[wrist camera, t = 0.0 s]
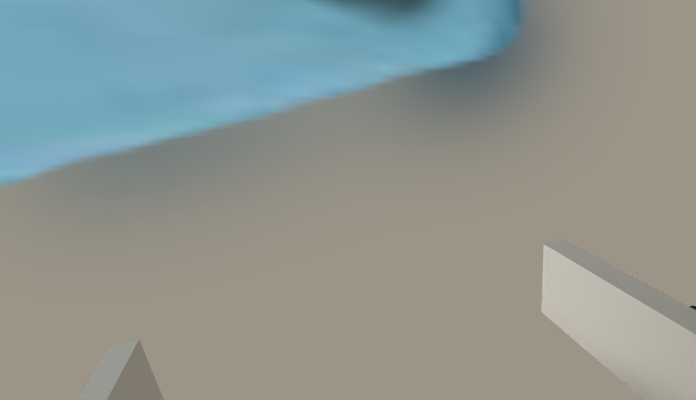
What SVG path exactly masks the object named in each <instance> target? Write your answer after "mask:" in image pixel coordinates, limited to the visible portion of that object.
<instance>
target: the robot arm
mask: <svg viewBox="0 0 696 400" xmlns="http://www.w3.org/2000/svg"><path fill="white" fill-rule="evenodd" d="M542 286H543V287H542V313H544V314H545V315H546V316H547V317H548V318H549V319H550V320H552V321H553V322H554V323H555V324H556V325H557V326H559V327H560V328H561V329H562V330H563V331H564V332H566V333H567V334H568V335H569V336H570V337H572V338H573V339H574V340H575V341H576V342H577V343H578V344H580V345H581V346H582V347H583V348H584V349H585V350H587V351H588V352H589V353H590V354H591V355H592V356H594V357H595V358H596V359H597V360H598V361H599V362H601V363H602V364H603V365H604V366H605V367H607V368H608V369H609V370H610V371H611V372H613V374H615V375H616V376H617V377H618V378H619V379H620V380H622V381H623V382H624V383H625V384H626V385H628V386H629V387H630V388H631V389H632V390H633V391H635V392H636V393H637V394H638V395H639V396H640V397H642V398H643V399H644V400H696V306H690V307H689V306H687V305H685V304H683V303H681V302H679V301H677V300H676V299H674V298H672V297H670V296H668V295H667V294H665V293H663V292H661V291H659V290H657V289H655V288H654V287H652V286H650V285H648V284H646V283H644V282H642V281H640V280H639V279H637V278H635V277H633V276H631V275H629V274H627V273H625V272H624V271H622V270H620V269H618V268H616V267H614V266H613V265H611V264H609V263H607V262H605V261H603V260H601V259H600V258H598V257H595V256H594V255H592V254H590V253H588V252H586V251H585V250H583V249H581V248H579V247H577V246H575V245H573V244H571V243H570V242H568V241H566V240H564V239H563V240H559V241H555V242H551V243H546V244H544V252H543V285H542ZM78 400H164V399H163V397H162V394H161V392H160V389H159V387H158V384H157V382H156V380H155V377H154V375H153V372H152V370H151V367H150V365H149V362H148V360H147V357H146V355H145V353H144V350H143V348H142V345H141V343H140V341H139V340H134V341H130V342H126V343H122V344H117V345H113V346H111V348H110V349H109V351H108V352H107V354H106V355H105V357H104V359H103V361H102V362H101V363H100V365H99V367H98V368H97V370H96V371H95V373H94V375H93V376H92V378H91V379H90V381H89V382H88V384H87V386H86V387H85V389H84V391H83V392H82V394H81V395H80V397H79V398H78Z"/></svg>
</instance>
